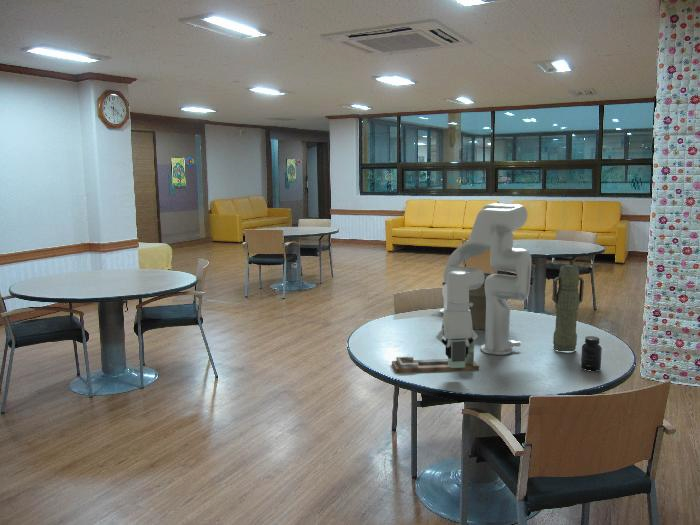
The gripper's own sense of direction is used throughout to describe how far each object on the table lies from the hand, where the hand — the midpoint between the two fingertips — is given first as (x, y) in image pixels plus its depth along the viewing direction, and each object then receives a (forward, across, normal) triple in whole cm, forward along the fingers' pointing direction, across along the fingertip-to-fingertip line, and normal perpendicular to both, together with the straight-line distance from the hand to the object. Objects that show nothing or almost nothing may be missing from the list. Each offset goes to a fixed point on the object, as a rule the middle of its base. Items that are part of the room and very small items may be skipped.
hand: (456, 356), depth 208 cm
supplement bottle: (+9, -52, -4) cm, 53 cm away
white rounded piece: (+11, -26, -95) cm, 99 cm away
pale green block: (+4, 0, 0) cm, 4 cm away
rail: (+8, +4, -12) cm, 16 cm away
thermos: (+10, -54, -27) cm, 61 cm away
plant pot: (+10, -32, -66) cm, 75 cm away
